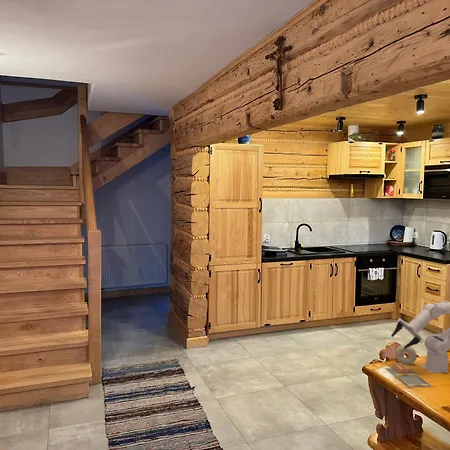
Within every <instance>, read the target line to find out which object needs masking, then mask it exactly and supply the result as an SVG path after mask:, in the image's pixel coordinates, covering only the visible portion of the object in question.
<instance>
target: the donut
mask: <svg viewBox="0 0 450 450" xmlns="http://www.w3.org/2000/svg"><path fill="white" fill-rule="evenodd" d="M406 345H407V344H402V345H399V346H397V348H396V349H395V358H396V360H397V362H401V363H402V364H403V365H409V366H410V365H412V364H414V362H415V361H416V360H417V358H418V357H417V351H416V350H415V348H414V347H413V346H410V347H408V348H406V349H405V348H404V347H405V346H406ZM405 352H406V353H408V354H409V355H408V357H405V356H404V355H403V354H404V353H405Z"/></svg>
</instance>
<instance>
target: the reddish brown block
mask: <svg viewBox="0 0 450 450" xmlns="http://www.w3.org/2000/svg"><path fill="white" fill-rule="evenodd" d="M391 368H392V369H394V370H395V371H396V372H397V373H399V374H408V371H409V370H410V368H408V366H406V364H403V363H401V362H399V361H397V362H395V361H394V362H392V367H391Z"/></svg>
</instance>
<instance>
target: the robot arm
mask: <svg viewBox="0 0 450 450" xmlns="http://www.w3.org/2000/svg"><path fill="white" fill-rule="evenodd" d="M449 314H450V301H448V300H443V301H442V302H435V303H433V304H432V303H426V304H423V306H422V309H421V310H420V312H419V313H418V314H417V315H416V316H415V317H413V319H412V320H411V321H409V323H407V322H406V321H404V320H403V319H402V318H400V317H399V318H398V319H397V320H396V322H397V324H396V327H395V329H394V330H393V331H392V334H391V335H390V336H391V337H392V338H393V337H395V336H396V335H397V333H399V332H400V331H402V329H403V328H404V329H405V330H406V331H408V332H409V333H410V334H411V335H412V336H413V338H412V339H411V340H410V341H409V342H408V343H406V344H405V345H406V346H405V347H404V348H405V349H406V348H408V347H410V346H411V347H413V346H414V345H418V344H420V343H421V344H423V343H424V346H425V347H426V359H425V360H426V361H425V364H424V365H421V366H422V367H423V368H424V369H426V370H427V371H429V372H430V373H441V374H444V373H445V374H446V373H449V370H448V369H449V356H448V354H447V352H448V350H449V349H450V327H449V328H447V329H446V330H444V331H443V332H441V333H434V334H432V335H428V336H427V337H426V338H425V339H424V337H422V336H421V335H420V332H421V331H422V330H423V328H425V327H426V326H427V325H428V324H429V323H430V322H432V320H434V319H439V318H440V317H441V316H444V315H449Z"/></svg>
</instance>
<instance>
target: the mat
mask: <svg viewBox="0 0 450 450" xmlns="http://www.w3.org/2000/svg"><path fill="white" fill-rule="evenodd" d="M384 370H386V371H387V372H388V373H389V374H390V375H392V377H394V378H395V379H397V380H398V381H399V382H400V383H401V384H402V385H404V386H405V387H406V388H407V389H409V388H410V389H413V388H415V389H416V388H419V389H420V387H407V386H406V385H405V384H404V383H403V382H401V381H400V380H399V379H398V378H396V377H395V374H399V373H397V372H396V371H395V370H394V369H392V367H391V368H386V367H385V368H384ZM408 374H416V373H415V372H413V370H411V369H409V371H408ZM400 378H401V379H403V380H404V381H405V382H406V383H407V384H409V385H414V384H425V383H424V382H423V381H421V380H420V379H419V378H417V377H416V376H403V377H400ZM428 388H433V386H432V385H431V386H429V387H428Z"/></svg>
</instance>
